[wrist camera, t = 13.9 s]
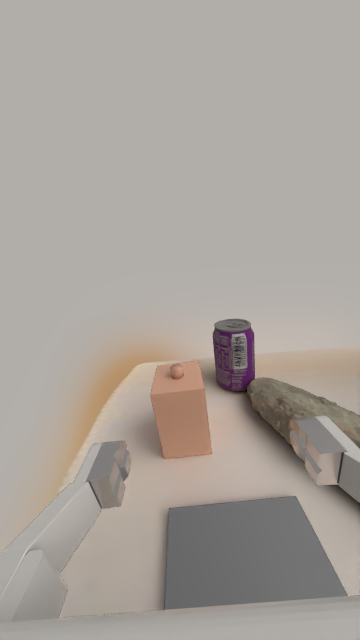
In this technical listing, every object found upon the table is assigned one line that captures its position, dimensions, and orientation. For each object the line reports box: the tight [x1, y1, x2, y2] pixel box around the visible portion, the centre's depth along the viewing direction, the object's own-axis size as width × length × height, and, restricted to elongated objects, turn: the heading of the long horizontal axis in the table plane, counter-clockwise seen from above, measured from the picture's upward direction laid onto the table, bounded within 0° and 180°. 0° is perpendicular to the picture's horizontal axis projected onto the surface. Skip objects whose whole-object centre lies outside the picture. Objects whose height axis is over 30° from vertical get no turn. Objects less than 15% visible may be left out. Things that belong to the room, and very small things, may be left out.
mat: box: [165, 496, 348, 610], centre depth 10 cm, size 12×12×1 cm
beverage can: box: [213, 319, 255, 391], centre depth 32 cm, size 7×7×12 cm
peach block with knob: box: [150, 361, 212, 459], centre depth 23 cm, size 6×6×11 cm
